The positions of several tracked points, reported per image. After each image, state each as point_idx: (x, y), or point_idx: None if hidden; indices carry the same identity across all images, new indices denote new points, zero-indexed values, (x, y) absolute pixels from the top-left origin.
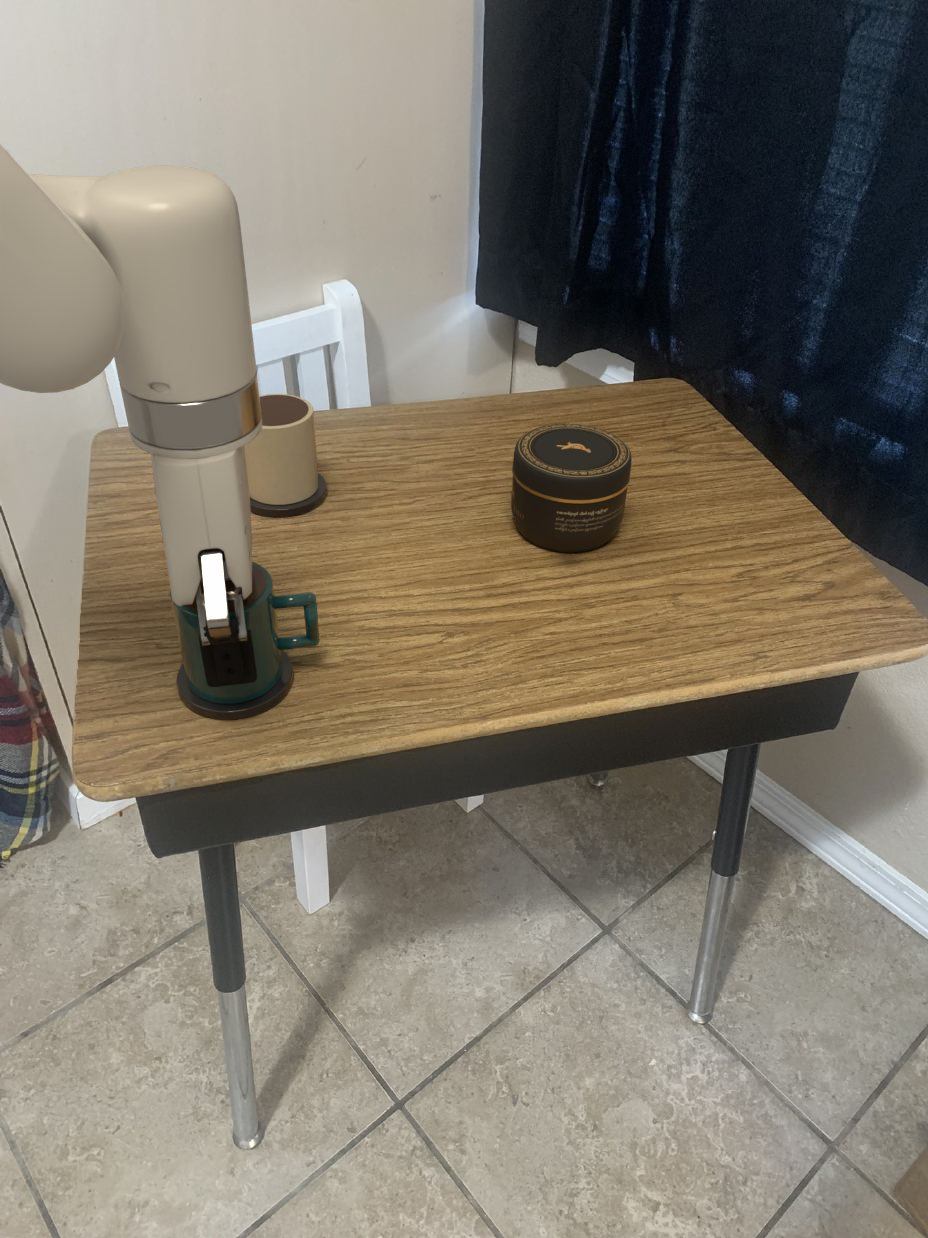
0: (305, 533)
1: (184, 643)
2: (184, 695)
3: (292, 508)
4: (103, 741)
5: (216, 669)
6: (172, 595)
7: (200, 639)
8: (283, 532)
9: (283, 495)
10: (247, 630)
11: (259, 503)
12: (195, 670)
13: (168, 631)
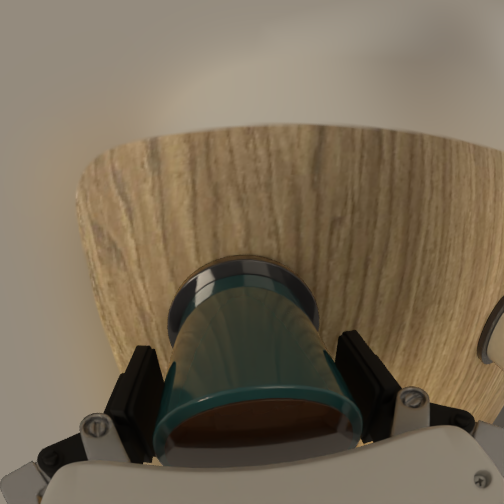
0: (457, 356)
1: (195, 338)
2: (201, 273)
3: (483, 345)
4: (143, 164)
5: (114, 387)
6: (52, 484)
7: (113, 411)
8: (466, 337)
9: (496, 342)
10: (149, 459)
11: (500, 315)
12: (188, 321)
13: (364, 232)
